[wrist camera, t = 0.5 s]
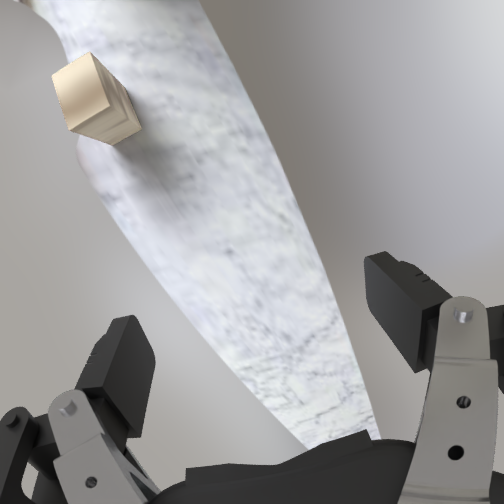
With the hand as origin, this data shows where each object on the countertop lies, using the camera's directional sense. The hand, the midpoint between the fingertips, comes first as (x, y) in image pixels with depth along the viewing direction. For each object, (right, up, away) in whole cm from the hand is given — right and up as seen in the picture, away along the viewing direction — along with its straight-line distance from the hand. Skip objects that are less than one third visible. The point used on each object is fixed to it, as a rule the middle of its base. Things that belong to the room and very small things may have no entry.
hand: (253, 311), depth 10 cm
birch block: (-16, +18, +22) cm, 32 cm away
